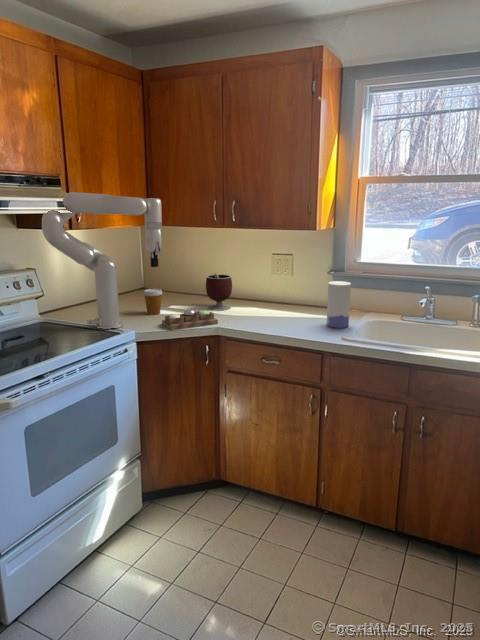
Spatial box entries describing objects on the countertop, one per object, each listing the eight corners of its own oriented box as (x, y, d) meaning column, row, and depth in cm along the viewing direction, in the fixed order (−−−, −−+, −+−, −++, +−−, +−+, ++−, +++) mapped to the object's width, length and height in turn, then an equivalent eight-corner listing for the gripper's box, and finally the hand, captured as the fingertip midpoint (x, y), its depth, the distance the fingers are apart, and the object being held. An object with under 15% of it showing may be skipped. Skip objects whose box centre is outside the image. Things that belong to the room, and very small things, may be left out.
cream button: (171, 322, 214) (171, 317, 213) (167, 320, 218) (167, 315, 218) (181, 321, 216) (181, 316, 216) (177, 318, 221) (177, 313, 220)
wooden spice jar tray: (171, 330, 211) (171, 320, 210) (162, 324, 221) (161, 314, 220) (217, 323, 222) (217, 314, 221) (206, 318, 232) (206, 309, 231)
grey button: (186, 317, 217) (186, 312, 217) (182, 315, 221) (182, 310, 221) (196, 316, 219) (196, 311, 219) (192, 313, 224) (192, 309, 223)
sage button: (201, 318, 221) (201, 313, 220) (197, 316, 225) (197, 311, 225) (211, 317, 223) (211, 312, 223) (207, 315, 228) (206, 310, 227)
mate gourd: (209, 304, 261) (208, 268, 256) (234, 305, 259) (234, 269, 253) (202, 311, 246) (202, 273, 241) (229, 312, 244) (228, 273, 239)
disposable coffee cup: (164, 315, 238) (163, 291, 235) (145, 316, 236) (144, 292, 233) (162, 310, 247) (161, 288, 244) (143, 311, 245) (142, 289, 242)
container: (343, 322, 225) (346, 280, 220) (351, 327, 215) (354, 284, 210) (323, 323, 223) (325, 281, 218) (330, 328, 214) (332, 285, 209)
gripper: (140, 225, 219) (142, 265, 223) (150, 227, 206) (151, 269, 211) (156, 225, 222) (157, 264, 227) (166, 227, 209) (167, 268, 214)
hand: (154, 266), depth 219 cm, fingers closed
